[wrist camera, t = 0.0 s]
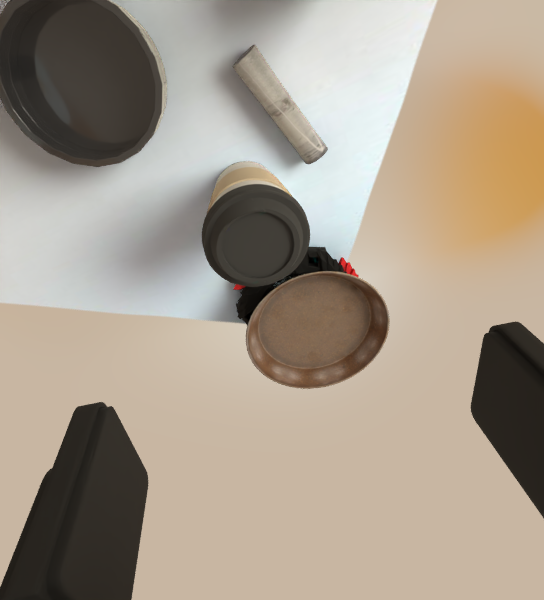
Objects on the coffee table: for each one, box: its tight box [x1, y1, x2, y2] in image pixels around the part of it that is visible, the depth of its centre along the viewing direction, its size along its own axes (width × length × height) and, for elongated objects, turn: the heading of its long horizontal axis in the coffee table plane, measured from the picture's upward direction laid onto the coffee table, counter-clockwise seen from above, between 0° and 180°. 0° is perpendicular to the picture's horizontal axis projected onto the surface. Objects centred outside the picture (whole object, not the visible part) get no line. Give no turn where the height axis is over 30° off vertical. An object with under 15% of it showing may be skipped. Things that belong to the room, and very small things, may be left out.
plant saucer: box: [246, 271, 389, 389], centre depth 50 cm, size 18×18×3 cm
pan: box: [0, 0, 167, 167], centre depth 35 cm, size 13×13×4 cm
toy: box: [234, 247, 358, 326], centre depth 51 cm, size 17×16×3 cm
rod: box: [233, 45, 328, 164], centre depth 39 cm, size 12×3×3 cm, turn 39°
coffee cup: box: [202, 161, 310, 287], centre depth 38 cm, size 9×9×15 cm
